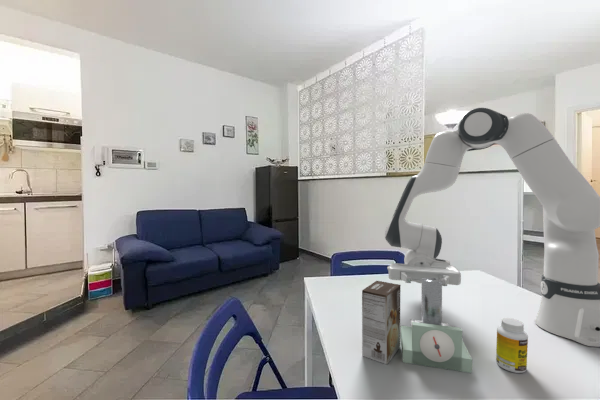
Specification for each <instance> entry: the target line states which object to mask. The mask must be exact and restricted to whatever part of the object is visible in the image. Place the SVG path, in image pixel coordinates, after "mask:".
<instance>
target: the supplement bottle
mask: <svg viewBox="0 0 600 400" xmlns="http://www.w3.org/2000/svg"><path fill="white" fill-rule="evenodd" d="M500 323H501V324H500V325H498V326H497V328H496V350H495V351H496V352H495V353H496V354H495V361H496V364H497V365H498V366H499V367H500V368H502V369H504V370H506V371H508V372H510V373H514V374H522V373H525V372H526V371H527V367H528V343H529V340H528V338H529V336H528V334H527V332H526V331H525V328H524V323H523V322H522V321H520V320H519V319H515V318H511V317H510V318H509V317H503V318H502V319H501V322H500Z"/></svg>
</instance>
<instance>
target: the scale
mask: <svg viewBox="0 0 600 400" xmlns="http://www.w3.org/2000/svg"><path fill="white" fill-rule="evenodd" d="M400 348H401V355H402V363H405V364H412V365H416V366H417V365H418V366H424V367H430V368H431V367H432V368H437V369H444V370H449V371H456V372H463V373H470V374H472V373H473V359H472V356H471V355H470V352H469V350H468V348H467V346H466V344H465V342H464V340H463V329H462V327H457V326H451V325H449V326H442V325H434V324H425V323H417V322H412V327H411V326H407V325H400Z"/></svg>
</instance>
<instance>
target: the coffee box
mask: <svg viewBox="0 0 600 400" xmlns="http://www.w3.org/2000/svg"><path fill="white" fill-rule="evenodd" d="M361 291H362V293H361V301H362V302H361V305H362V307H361V309H362V312H361V315H362V316H361V325H362V326H361V333H362V334H361V336H362V337H361V339H362V340H361V341H362V342H361V350H362V351H361V353H362V357H364V358H368V359H370V360H373V361H376V362H378V363H381V364H384V365H388V364H389V363H390V362H391V360H392V359H393V358H394V357H395V355H396V354H397V352H398V351H399V349H400V348H401V284H400V283H399V284H398V283H392V282H387V281H382V280H381V281H380V280H376V281H374V282H372V283H371V284H370V285H368V286H367V287H365V288H363V289H361Z"/></svg>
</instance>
